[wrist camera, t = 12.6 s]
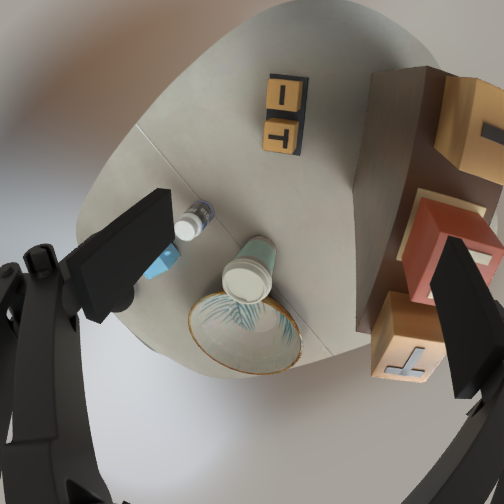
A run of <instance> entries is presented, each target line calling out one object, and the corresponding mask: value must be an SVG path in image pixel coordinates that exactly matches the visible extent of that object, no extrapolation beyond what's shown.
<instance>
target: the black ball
mask: <svg viewBox="0 0 504 504" xmlns="http://www.w3.org/2000/svg"><path fill="white" fill-rule="evenodd" d="M133 299H134V287H133V286H132V287H131V289H130V290H129V291H128V292H127V293H126V294H125V296H124V297H123V298H122V299H121V300H120V301H119V303H118V304H117V305H116V306H115V307H114V309H113V310H112V311H111V312H115V313H117V312H122V311H124V310H126V309H127V308H128V307H129V306H130V305H131V304H132V302H133Z"/></svg>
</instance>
